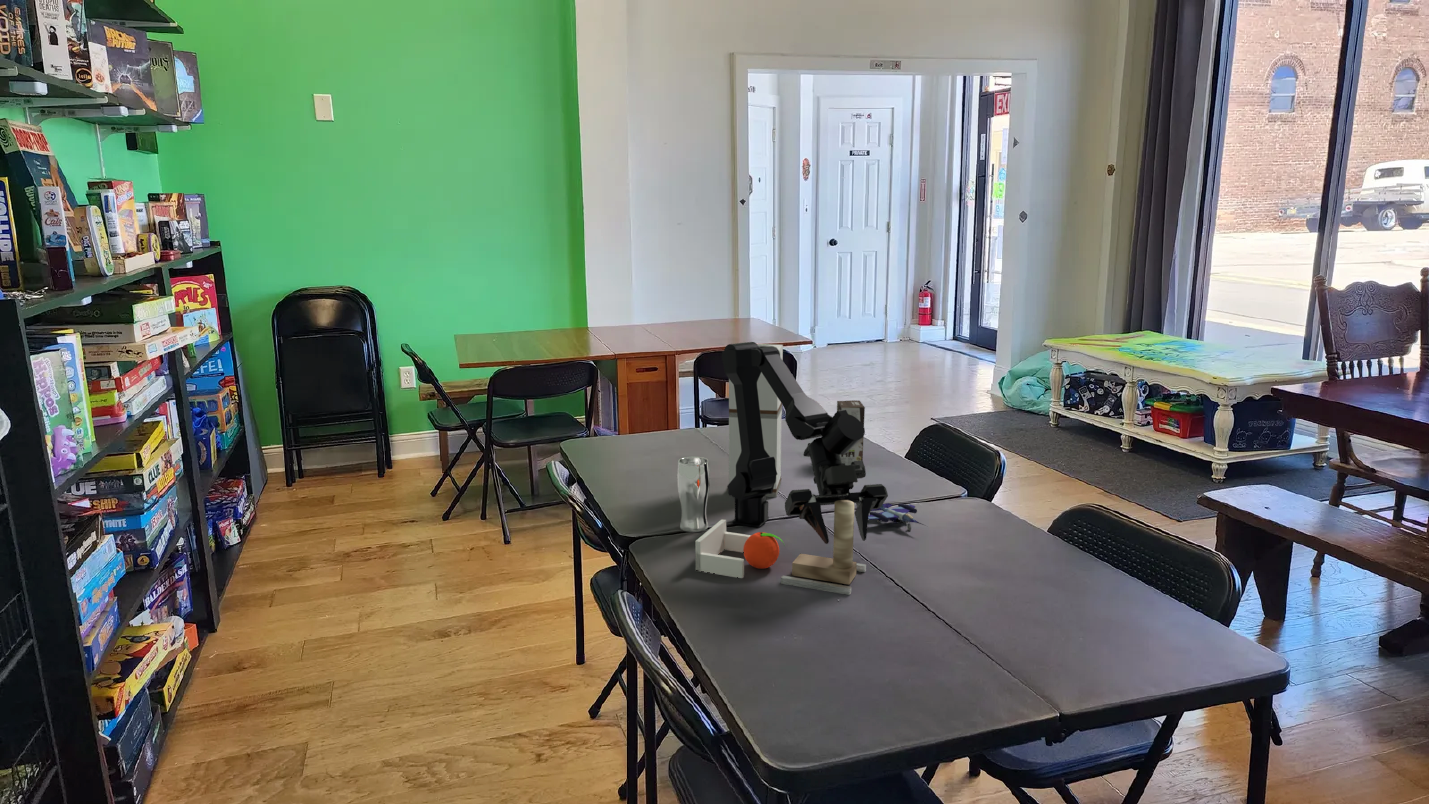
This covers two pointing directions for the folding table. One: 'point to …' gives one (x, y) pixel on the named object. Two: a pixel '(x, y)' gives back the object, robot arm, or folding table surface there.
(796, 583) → the rails
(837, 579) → the ball
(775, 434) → the white square tower
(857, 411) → the coffee box
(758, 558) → the clementine
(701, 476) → the beer glass
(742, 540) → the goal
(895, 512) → the toy airplane
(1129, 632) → the folding table surface
